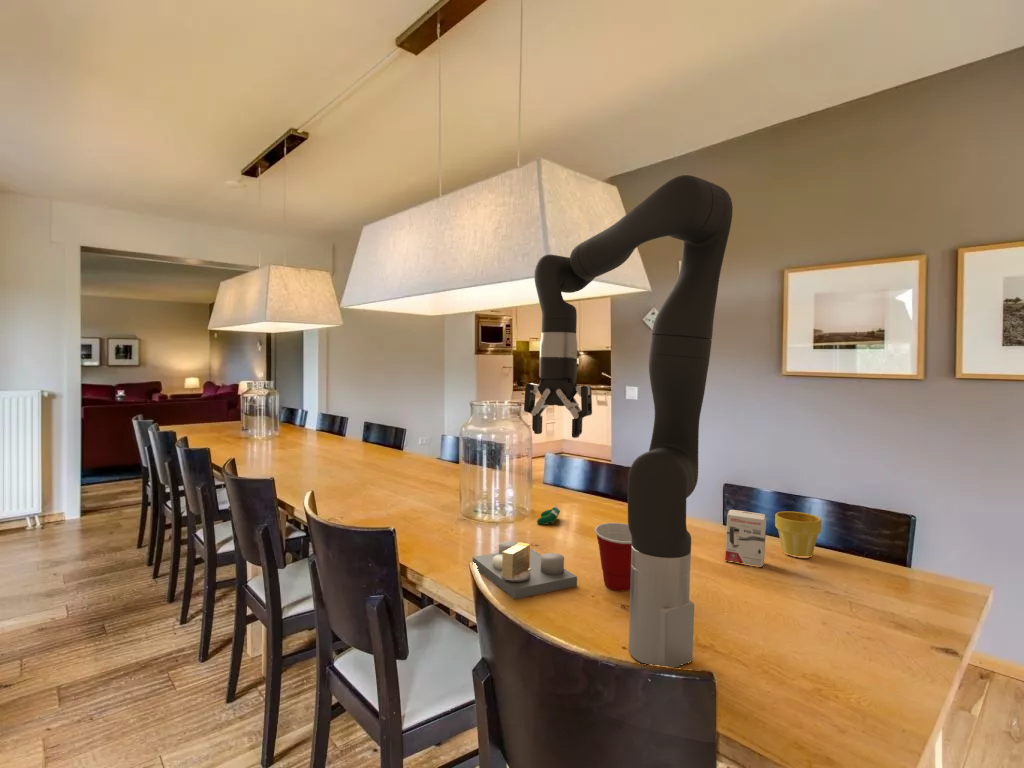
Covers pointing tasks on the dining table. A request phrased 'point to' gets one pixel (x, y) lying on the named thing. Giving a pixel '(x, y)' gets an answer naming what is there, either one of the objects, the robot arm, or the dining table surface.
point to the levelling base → (542, 568)
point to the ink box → (745, 537)
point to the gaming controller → (549, 516)
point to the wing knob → (516, 563)
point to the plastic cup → (615, 554)
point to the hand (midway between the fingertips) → (556, 435)
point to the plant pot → (797, 532)
